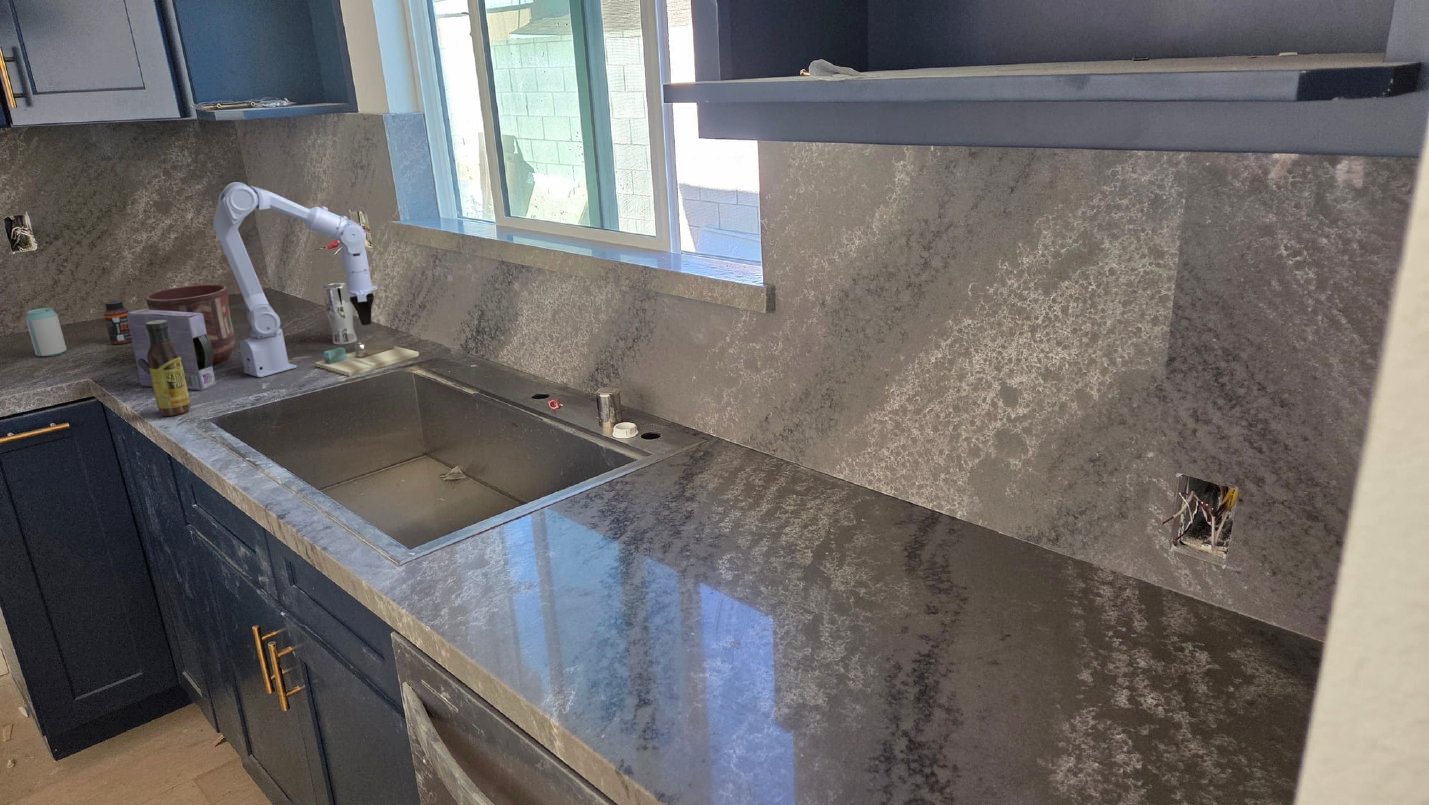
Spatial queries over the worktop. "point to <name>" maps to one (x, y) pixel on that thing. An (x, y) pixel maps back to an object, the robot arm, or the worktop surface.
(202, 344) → the cake pan box
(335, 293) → the beer glass
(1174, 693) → the worktop surface
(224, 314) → the pottery
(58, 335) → the can
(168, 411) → the sauce bottle
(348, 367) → the board
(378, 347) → the swing bar
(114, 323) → the supplement bottle
